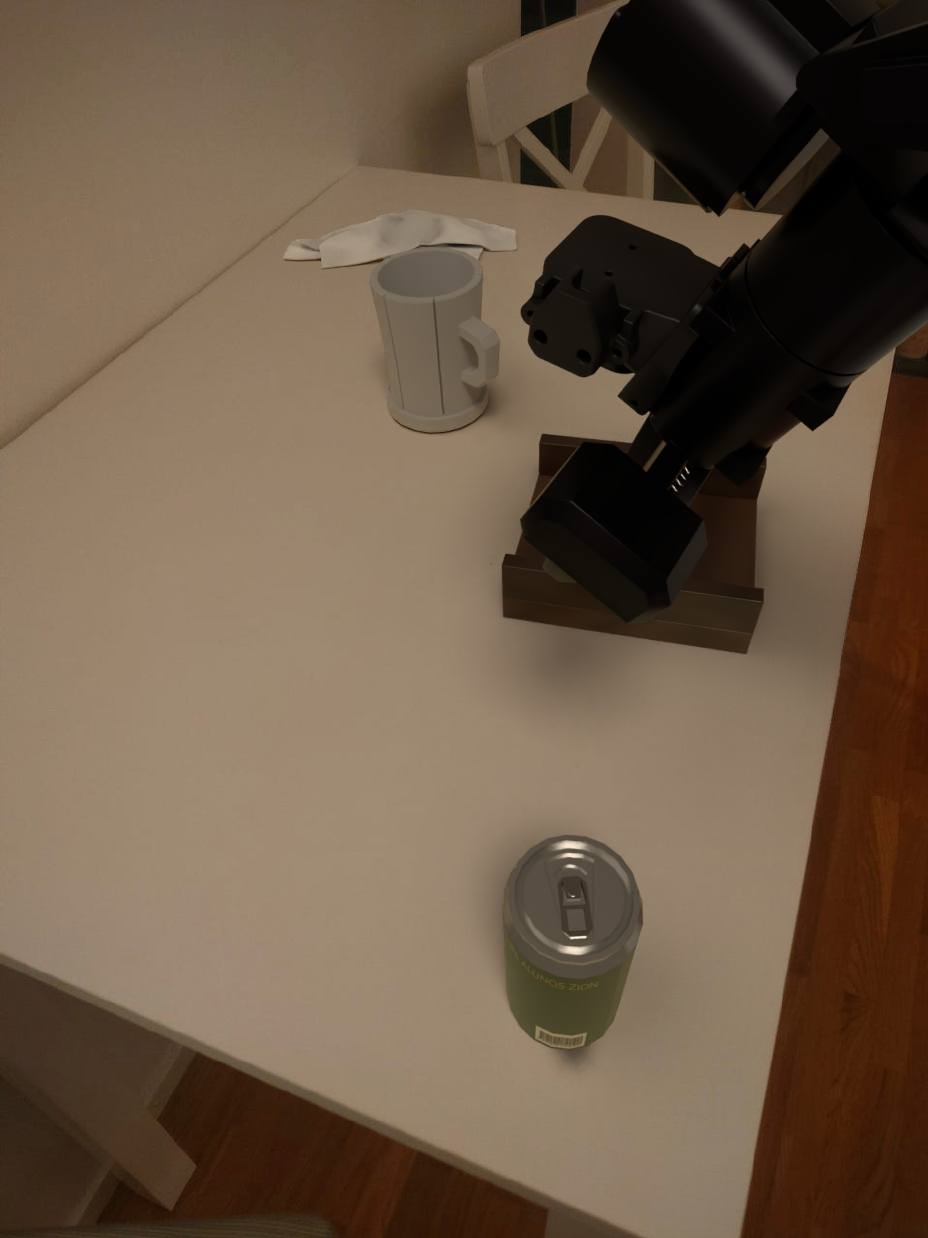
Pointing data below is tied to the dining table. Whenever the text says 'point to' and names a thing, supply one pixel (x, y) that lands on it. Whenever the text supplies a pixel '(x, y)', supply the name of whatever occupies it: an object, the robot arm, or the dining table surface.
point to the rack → (710, 598)
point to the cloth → (402, 238)
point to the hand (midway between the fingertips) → (595, 511)
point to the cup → (434, 337)
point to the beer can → (569, 939)
